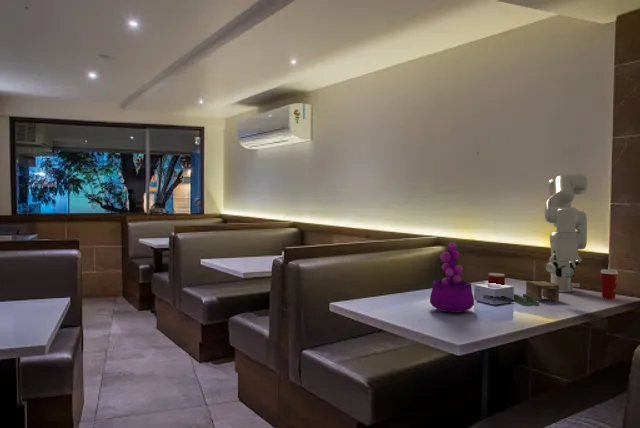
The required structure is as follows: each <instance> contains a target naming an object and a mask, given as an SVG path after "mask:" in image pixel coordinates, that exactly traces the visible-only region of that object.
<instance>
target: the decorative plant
mask: <svg viewBox="0 0 640 428" xmlns="http://www.w3.org/2000/svg"><path fill="white" fill-rule="evenodd" d="M457 248H458V247H457V244H456V243H455V242H449V243H448V245H447V249H448V251H442V252H441V253H440V254H439V260H440V261H441V262H444V263H443V264H442V265H441V269H442V271H443V272H444V274H445V277H443V278H441V279H437V280H434V281H433V282H432V289H431V292H430V297H429V304H430V305H431V306H432V307H434V308H435V309H438V310H439V311H442V312H447V313H462V312H465V311H469V310H471V309H472V308H473V306H475V297H474V294H473V289H472V283H471V282H469V281H466V280H462V276H461V275H460V274H461V273H462V272H463V270H464V269H463V266H462V265H460V264H455V263H456V262H455V259H458V258H460V252H459V251H457ZM449 251H450V252H449Z"/></svg>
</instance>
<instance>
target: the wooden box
mask: <svg viewBox="0 0 640 428" xmlns="http://www.w3.org/2000/svg"><path fill="white" fill-rule="evenodd" d="M525 283H526V284H525V285H526V286H525V287H526V288H525V294H527V295H530V296H532V297H534V298H536V302H537V301H543V298H545V297H546V298H545V299H547V298H548V299H547V300H550V299H551V300H550V301H552V300H553V302H555V301H559V299H560V298H559V297H560V295H559V294H560V292H559V285H556V284H553V283H551V281H546V280H541V281H540V280H535V281H534V280H532V281H531V280H529V281H527V280H526V282H525ZM542 296H544V297H542ZM559 302H560V301H559Z"/></svg>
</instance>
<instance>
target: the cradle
mask: <svg viewBox="0 0 640 428" xmlns="http://www.w3.org/2000/svg"><path fill="white" fill-rule="evenodd" d="M513 298H514V301H515V302H514V301H513V302H514V303H516V302H517V303H516V304H518V303H519V305H521V306H540V302H537V301H536V298H534V297H532V296H530V295H527V294H526V293H522V295H519V294H517V293H513Z"/></svg>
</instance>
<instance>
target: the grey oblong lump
mask: <svg viewBox="0 0 640 428" xmlns="http://www.w3.org/2000/svg"><path fill="white" fill-rule="evenodd" d="M560 268H561V269H562V272H561V273H562V277H566V278H573V277H572V276H573V275H574V276H575V270H573V269H572V268H571V267H568V266H564V265H561V267H560ZM545 271H547V272H548V273H550V274H551V273H553V274H556V267H555V266H554V265H553V264H552V263H551V262H550V261H548V262H547V263H546V264H545Z"/></svg>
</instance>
